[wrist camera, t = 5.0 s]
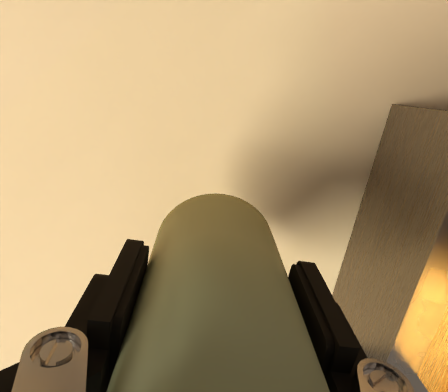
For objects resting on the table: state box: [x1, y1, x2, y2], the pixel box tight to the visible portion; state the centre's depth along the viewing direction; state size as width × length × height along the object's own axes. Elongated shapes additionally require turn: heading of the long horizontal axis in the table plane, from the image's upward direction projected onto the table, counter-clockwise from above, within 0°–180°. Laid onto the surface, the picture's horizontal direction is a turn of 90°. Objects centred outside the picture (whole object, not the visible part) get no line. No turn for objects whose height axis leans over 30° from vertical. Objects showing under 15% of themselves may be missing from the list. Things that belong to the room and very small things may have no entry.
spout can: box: [107, 194, 330, 392], centre depth 9 cm, size 5×5×11 cm
